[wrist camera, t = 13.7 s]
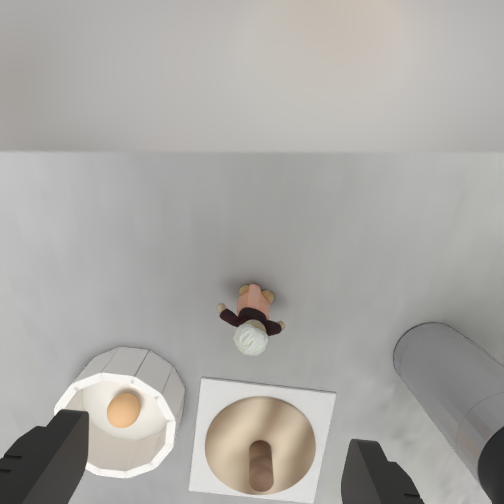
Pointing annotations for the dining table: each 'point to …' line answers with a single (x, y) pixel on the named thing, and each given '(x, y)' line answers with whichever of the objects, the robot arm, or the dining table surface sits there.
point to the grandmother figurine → (252, 319)
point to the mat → (228, 391)
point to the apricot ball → (123, 410)
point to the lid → (260, 445)
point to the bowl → (150, 418)
